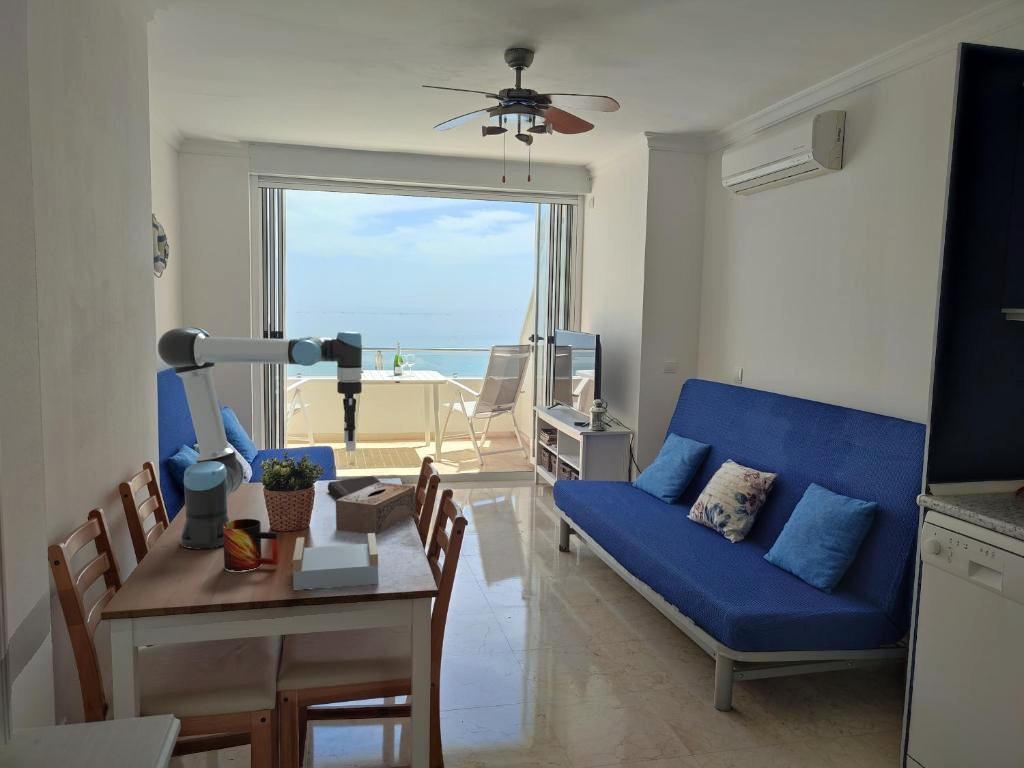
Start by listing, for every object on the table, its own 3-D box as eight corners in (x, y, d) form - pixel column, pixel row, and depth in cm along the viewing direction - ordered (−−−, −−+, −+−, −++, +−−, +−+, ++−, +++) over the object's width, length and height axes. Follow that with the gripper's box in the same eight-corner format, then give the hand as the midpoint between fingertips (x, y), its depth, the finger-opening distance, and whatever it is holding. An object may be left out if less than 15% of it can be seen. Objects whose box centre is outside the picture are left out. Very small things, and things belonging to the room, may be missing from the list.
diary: (345, 510, 261) (345, 496, 260) (327, 494, 283) (327, 481, 282) (396, 503, 270) (395, 489, 269) (375, 487, 292) (374, 475, 291)
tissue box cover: (378, 509, 260) (378, 482, 259) (415, 514, 255) (415, 486, 254) (336, 530, 236) (335, 500, 235) (375, 536, 231) (375, 504, 230)
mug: (278, 568, 201) (277, 526, 200) (223, 574, 197) (222, 530, 195) (277, 557, 210) (276, 516, 209) (225, 562, 206) (223, 520, 205)
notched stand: (293, 590, 186) (292, 559, 185) (297, 566, 203) (296, 537, 203) (378, 584, 191) (377, 554, 190) (375, 560, 208) (374, 532, 207)
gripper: (364, 385, 223) (363, 454, 225) (359, 376, 247) (359, 439, 249) (338, 385, 221) (338, 455, 223) (336, 376, 245) (336, 439, 247)
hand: (349, 447), depth 236 cm, fingers open, 13 cm apart
